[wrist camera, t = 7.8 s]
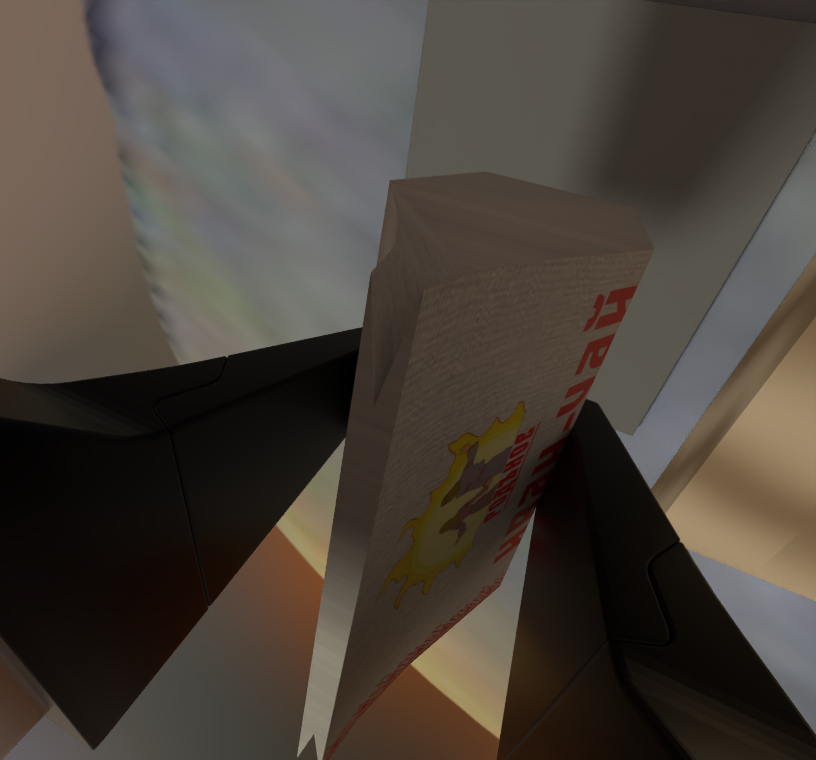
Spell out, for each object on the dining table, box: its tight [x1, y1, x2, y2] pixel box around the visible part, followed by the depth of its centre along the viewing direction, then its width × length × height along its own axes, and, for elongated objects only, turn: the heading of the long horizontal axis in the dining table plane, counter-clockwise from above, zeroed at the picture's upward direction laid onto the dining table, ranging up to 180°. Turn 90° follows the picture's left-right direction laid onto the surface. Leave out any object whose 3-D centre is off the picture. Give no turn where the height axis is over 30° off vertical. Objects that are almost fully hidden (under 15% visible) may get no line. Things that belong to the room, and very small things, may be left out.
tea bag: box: [297, 171, 654, 760], centre depth 9 cm, size 4×7×10 cm, turn 172°
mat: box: [405, 0, 816, 436], centre depth 17 cm, size 14×12×1 cm
